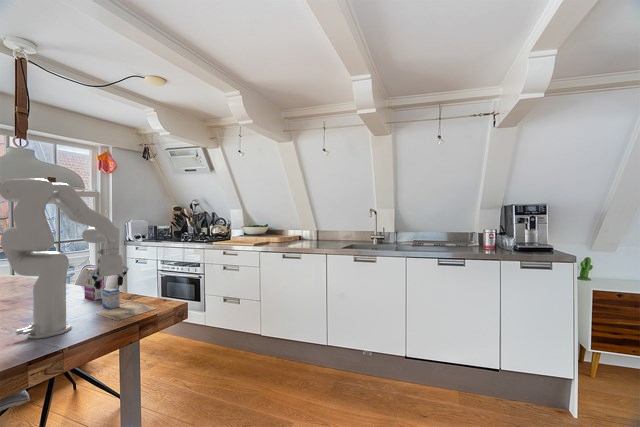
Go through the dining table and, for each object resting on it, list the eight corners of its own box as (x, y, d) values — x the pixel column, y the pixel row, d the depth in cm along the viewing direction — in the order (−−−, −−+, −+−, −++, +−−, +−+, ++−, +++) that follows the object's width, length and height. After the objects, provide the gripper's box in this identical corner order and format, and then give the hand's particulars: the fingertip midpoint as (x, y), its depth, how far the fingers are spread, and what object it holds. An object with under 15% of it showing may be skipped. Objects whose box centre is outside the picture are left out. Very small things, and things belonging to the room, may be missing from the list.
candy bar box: (104, 298, 161) (104, 268, 161) (94, 301, 157) (93, 270, 157) (94, 295, 167) (94, 266, 167) (84, 298, 162) (83, 268, 162)
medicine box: (102, 306, 147) (101, 289, 147) (112, 304, 151) (111, 287, 151) (109, 309, 143) (109, 291, 143) (120, 306, 147) (119, 289, 147)
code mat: (116, 320, 128) (116, 320, 128) (96, 314, 136) (96, 313, 136) (157, 308, 143) (157, 308, 143) (136, 303, 152) (136, 302, 152)
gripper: (93, 254, 137) (92, 291, 137) (132, 251, 152) (131, 284, 152) (85, 253, 141) (84, 289, 141) (124, 250, 156) (123, 283, 156)
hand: (109, 287), depth 146 cm, fingers open, 9 cm apart
